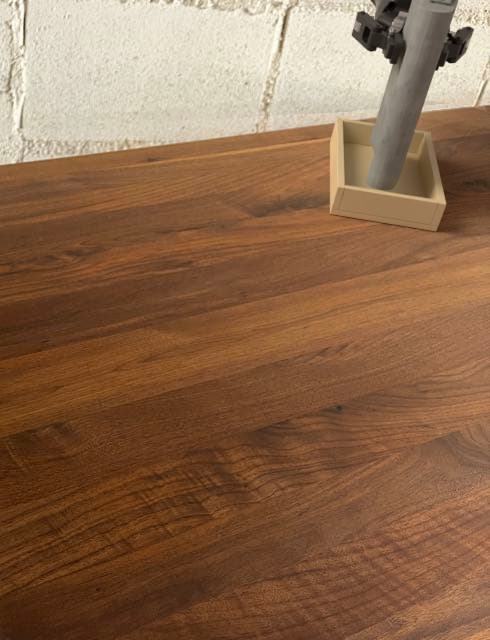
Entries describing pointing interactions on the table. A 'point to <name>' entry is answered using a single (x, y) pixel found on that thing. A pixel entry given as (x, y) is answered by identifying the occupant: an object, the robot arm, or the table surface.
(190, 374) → the table surface
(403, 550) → the table surface
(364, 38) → the robot arm
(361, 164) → the tray
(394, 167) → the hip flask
